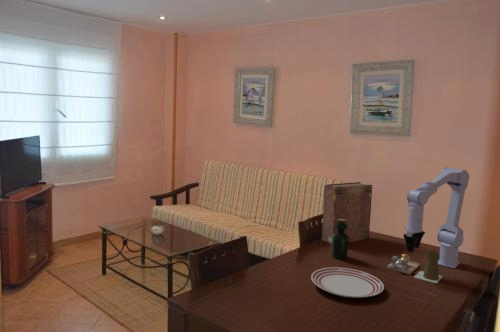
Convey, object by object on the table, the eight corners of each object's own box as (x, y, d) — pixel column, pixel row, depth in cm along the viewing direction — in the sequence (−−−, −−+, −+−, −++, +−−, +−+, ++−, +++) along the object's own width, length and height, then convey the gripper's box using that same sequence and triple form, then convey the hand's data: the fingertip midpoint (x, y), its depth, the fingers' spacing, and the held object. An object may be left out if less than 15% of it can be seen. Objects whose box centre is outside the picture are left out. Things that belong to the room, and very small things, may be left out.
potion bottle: (350, 256, 199) (353, 219, 197) (344, 261, 192) (347, 222, 190) (334, 253, 203) (336, 216, 201) (328, 257, 197) (330, 220, 194)
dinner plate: (384, 280, 172) (385, 272, 171) (381, 309, 146) (382, 300, 146) (317, 270, 181) (318, 263, 180) (303, 295, 155) (304, 287, 155)
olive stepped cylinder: (440, 280, 172) (443, 254, 170) (424, 279, 173) (427, 253, 172) (436, 275, 178) (439, 250, 176) (421, 273, 179) (424, 248, 177)
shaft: (400, 261, 190) (401, 252, 190) (409, 263, 188) (410, 254, 187) (391, 268, 181) (392, 259, 181) (401, 270, 179) (401, 261, 179)
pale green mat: (420, 271, 182) (420, 270, 182) (442, 277, 177) (442, 276, 177) (413, 277, 175) (413, 276, 175) (436, 283, 170) (436, 282, 170)
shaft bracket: (397, 260, 196) (398, 248, 195) (419, 265, 190) (420, 253, 189) (386, 268, 185) (387, 256, 184) (409, 274, 179) (410, 261, 178)
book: (356, 234, 236) (360, 181, 232) (369, 239, 228) (372, 184, 224) (321, 240, 223) (324, 184, 219) (333, 245, 215) (336, 187, 212)
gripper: (411, 213, 186) (409, 243, 187) (400, 219, 174) (397, 251, 176) (428, 216, 181) (425, 247, 183) (417, 222, 170) (414, 255, 172)
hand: (413, 249), depth 179 cm, fingers open, 7 cm apart
